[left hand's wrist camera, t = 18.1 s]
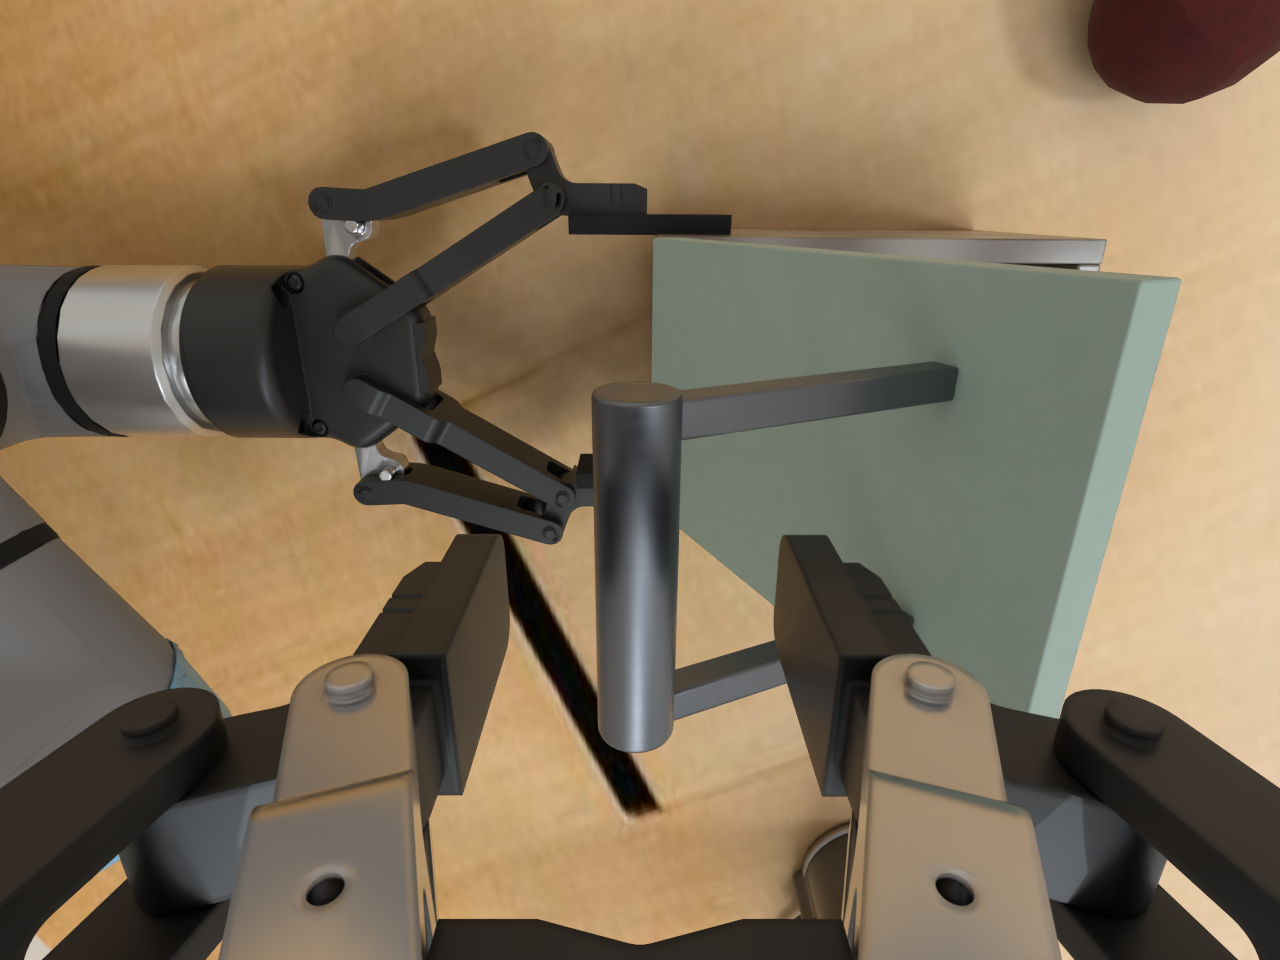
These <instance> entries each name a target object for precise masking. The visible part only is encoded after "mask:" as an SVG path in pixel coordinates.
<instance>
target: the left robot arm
mask: <svg viewBox="0 0 1280 960" xmlns="http://www.w3.org/2000/svg"><path fill="white" fill-rule="evenodd" d="M509 627H510V614H509V601H508V588H507V575H506V563H505V550H504V543H503V539H502V536H501V535H500V534H458V535H456V537H455V538H454V540H453V542H452V543H451V545H450V547H449V549H448V551H447V552H446V554H445V556H444V558H443V559H442V561H441V562H425V563H423V564H422V565H420V566H419V567H417V568H416V569H414V570H413V571H411V572H410V573H409V574H407V575H406V576H404V577H403V578H402V580H401V582H400V583H399V585H398V586H397V588H396V589H395V591H394V592H393V594H392V598H390V599H389V600H388V602H387V603H386V605H385V606H384V608H383V613H380V614H379V616H378V617H377V619H376V620H375V622H374V623H373V625H372V627H371V628H370V630H369V631H368V633H367V634H366V636H365V637H364V639H363V641H362V642H361V644H360V645H359V647H358V648H357V650H356V651H355V653H354V654H353V655H352V656H348V657H344V658H340V659H337V660H334V661H332V662H329V663H327V664H325V665H323V666H321V667H319V668H317V669H315V670H314V671H312V672H311V673H310V674H308V675H307V676H306V677H305V678H303V679H302V680H301V681H300V683H299V684H298V685H297V686H296V688H295V689H294V691H293V693H292V696H291V700H290V704H287V705H284V706H280V707H276V708H272V709H267V710H262V711H257V712H252V713H247V714H243V715H238V716H233V717H228V718H223V715H222V711H221V707H220V704H219V701H218V699H217V697H216V696H215V695H214V694H213V693H211V692H209V691H207V690H204V689H200V688H192V687H191V688H173V689H167V690H162V691H158V692H155V693H151V694H148V695H145V696H142V697H139V698H137V699H134V700H132V701H130V702H127V703H125V704H123V705H122V706H120V707H118V708H116V709H114V710H113V711H111V712H109V713H108V714H106V715H105V716H103V717H102V718H100V719H99V720H98V721H96V722H95V723H93V724H92V725H90V726H89V727H87V728H86V729H85V730H83V731H82V732H80V733H79V734H77V735H76V736H75V737H73V738H72V739H70V740H69V741H67V742H66V743H65V744H63V745H62V746H60V747H59V748H57V749H56V750H54V751H53V752H52V753H50V754H49V755H47V756H46V757H44V758H43V759H42V760H40V761H39V762H37V763H36V764H34V765H33V766H32V767H30V768H29V769H27V770H26V771H24V772H23V773H22V774H20V775H19V776H17V777H16V778H14V779H13V780H11V781H10V782H9V783H7V784H6V785H4V786H3V787H1V788H0V960H24V958H25V954H26V951H27V949H28V947H29V944H30V943H31V941H32V939H33V937H34V936H35V934H36V933H37V931H38V930H39V928H40V927H41V926H42V925H43V924H44V922H45V921H46V920H47V919H48V918H49V917H50V916H51V915H52V914H53V913H54V912H55V911H56V910H58V909H59V908H60V907H61V906H62V905H63V904H64V903H65V902H66V901H67V900H69V899H70V898H71V897H72V896H73V895H74V894H75V893H76V892H77V891H79V890H80V889H81V888H82V887H83V886H84V885H85V884H86V883H87V882H88V881H90V880H91V879H92V878H93V877H94V876H95V875H96V874H97V873H98V872H100V871H101V870H102V869H103V868H104V867H105V866H106V865H107V864H108V863H109V862H111V861H112V860H113V859H114V858H115V857H116V856H117V855H118V854H119V857H120V860H121V862H122V865H123V868H124V870H125V873H126V876H127V879H126V880H125V881H124V882H123V883H122V884H121V885H120V886H119V887H118V888H117V889H116V890H115V891H114V892H113V893H112V894H111V895H109V896H108V897H107V898H106V899H105V900H104V901H103V902H102V903H101V904H100V905H99V906H98V907H97V908H96V909H95V910H94V911H93V912H92V913H91V914H90V915H88V916H87V917H86V918H85V919H84V920H83V921H82V922H81V923H80V924H79V925H78V926H77V927H76V928H75V929H74V930H73V931H72V932H71V933H70V934H69V935H67V936H66V937H65V938H64V939H63V940H62V941H61V942H60V943H59V944H58V945H57V946H56V947H55V948H54V949H53V950H52V951H51V952H50V953H49V954H48V955H46V956H45V957H44V958H43V959H42V960H206V958H207V957H208V956H209V955H210V954H211V952H212V951H213V950H214V949H215V948H216V946H217V945H218V944H219V943H220V942H221V940H222V944H221V949H220V953H219V958H218V960H1062V958H1061V953H1060V949H1059V944H1058V940H1059V942H1060V943H1061V944H1062V945H1063V946H1064V948H1065V949H1066V950H1067V951H1068V952H1069V954H1070V955H1071V956H1072V957H1073V958H1074V960H1238V959H1237V958H1236V957H1235V956H1234V955H1233V954H1231V953H1230V952H1229V951H1228V950H1227V949H1226V948H1225V947H1224V946H1223V945H1222V944H1221V943H1220V942H1219V941H1218V940H1217V939H1216V938H1215V937H1214V936H1213V935H1212V934H1210V933H1209V932H1208V931H1207V930H1206V929H1205V928H1204V927H1203V926H1202V925H1201V924H1200V923H1199V922H1198V921H1197V920H1196V919H1195V918H1194V917H1193V916H1192V915H1190V914H1189V913H1188V912H1187V911H1186V910H1185V909H1184V908H1183V907H1182V906H1181V905H1180V904H1179V903H1178V902H1177V901H1176V900H1175V899H1174V898H1173V897H1172V896H1171V895H1169V894H1168V893H1167V892H1166V891H1165V890H1164V889H1163V888H1162V887H1161V886H1160V885H1159V884H1158V882H1159V880H1160V877H1161V874H1162V872H1163V869H1164V866H1165V864H1166V861H1167V860H1168V861H1169V862H1171V863H1172V864H1173V865H1174V866H1175V867H1176V868H1177V869H1178V870H1179V871H1181V872H1182V873H1183V874H1184V875H1185V876H1186V877H1187V878H1188V879H1189V880H1190V881H1192V882H1193V883H1194V884H1195V885H1196V886H1197V887H1198V888H1199V889H1200V890H1201V891H1203V892H1204V893H1205V894H1206V895H1207V896H1208V897H1209V898H1210V899H1211V900H1213V901H1214V902H1215V903H1216V904H1217V905H1218V906H1219V907H1220V908H1221V909H1222V910H1224V911H1225V912H1226V913H1227V914H1228V915H1229V916H1230V917H1231V918H1232V919H1233V920H1234V921H1235V922H1236V923H1237V924H1238V925H1239V926H1240V927H1241V928H1242V930H1243V931H1244V932H1245V933H1246V935H1247V936H1248V938H1249V939H1250V941H1251V942H1252V944H1253V946H1254V948H1255V950H1256V952H1257V954H1258V957H1259V960H1280V788H1279V787H1277V786H1276V785H1274V784H1273V783H1271V782H1270V781H1269V780H1267V779H1266V778H1264V777H1263V776H1261V775H1260V774H1259V773H1257V772H1256V771H1254V770H1253V769H1251V768H1250V767H1248V766H1247V765H1246V764H1244V763H1243V762H1241V761H1240V760H1238V759H1237V758H1236V757H1234V756H1233V755H1231V754H1230V753H1228V752H1227V751H1226V750H1224V749H1223V748H1221V747H1220V746H1218V745H1217V744H1215V743H1214V742H1213V741H1211V740H1210V739H1208V738H1207V737H1205V736H1204V735H1203V734H1201V733H1200V732H1198V731H1197V730H1195V729H1194V728H1193V727H1191V726H1190V725H1188V724H1187V723H1185V722H1184V721H1183V720H1181V719H1180V718H1178V717H1177V716H1175V715H1173V714H1172V713H1170V712H1169V711H1167V710H1165V709H1163V708H1161V707H1159V706H1158V705H1155V704H1153V703H1151V702H1149V701H1146V700H1144V699H1141V698H1138V697H1135V696H1132V695H1128V694H1125V693H1121V692H1116V691H1110V690H1101V689H1090V690H1082V691H1079V692H1075V693H1073V694H1071V695H1070V696H1069V697H1068V698H1067V699H1066V700H1065V702H1064V704H1063V708H1062V711H1061V715H1060V719H1057V718H1052V717H1047V716H1043V715H1038V714H1033V713H1028V712H1023V711H1018V710H1013V709H1009V708H1005V707H1001V706H998V705H995V704H992V703H990V700H989V696H988V693H987V691H986V689H985V688H984V686H983V685H982V684H981V683H980V681H979V680H978V679H977V678H975V677H974V676H973V675H972V674H970V673H969V672H968V671H966V670H965V669H963V668H961V667H959V666H957V665H955V664H953V663H951V662H948V661H946V660H943V659H940V658H936V657H932V655H931V654H930V652H929V651H928V649H927V648H926V646H925V645H924V643H923V642H922V640H921V639H920V637H919V636H918V634H917V633H916V631H915V629H914V628H913V626H912V625H911V623H910V622H909V620H908V619H907V617H906V616H905V614H902V610H901V608H900V607H899V605H898V603H897V602H896V600H895V599H892V594H891V593H890V591H889V590H888V588H887V587H886V585H885V584H884V582H883V581H882V579H881V578H880V577H879V576H877V575H876V574H875V573H873V572H872V571H870V570H869V569H867V568H866V567H864V566H863V565H861V564H860V563H843V562H842V560H841V558H840V556H839V555H838V553H837V551H836V550H835V548H834V546H833V544H832V543H831V541H830V539H829V537H828V536H827V535H783V536H782V538H781V541H780V546H779V557H778V569H777V582H776V594H775V606H774V637H775V644H776V649H777V652H778V656H779V659H780V662H781V665H782V669H783V672H784V675H785V678H786V681H787V685H788V688H789V691H790V694H791V698H792V701H793V704H794V707H795V710H796V714H797V717H798V720H799V723H800V726H801V730H802V733H803V736H804V739H805V743H806V746H807V749H808V752H809V755H810V759H811V762H812V765H813V768H814V772H815V775H816V778H817V781H818V784H819V788H820V791H821V794H822V796H848V799H849V802H850V805H851V808H852V813H851V820H850V824H846V825H843V826H841V827H838V828H836V829H834V830H832V831H830V832H828V833H827V834H825V835H824V836H822V837H821V838H820V839H819V840H817V841H816V842H815V843H814V844H813V846H812V847H811V848H810V849H809V851H808V852H807V854H806V856H805V858H804V861H803V865H802V870H801V871H800V872H799V873H797V874H796V875H795V876H793V882H794V887H795V891H796V895H797V900H798V904H799V909H800V913H801V915H799V916H798V917H796V918H795V919H741V920H737V921H734V922H730V923H726V924H722V925H719V926H715V927H711V928H707V929H703V930H700V931H696V932H692V933H688V934H685V935H681V936H677V937H673V938H670V939H666V940H662V941H658V942H655V943H651V944H645V945H635V944H629V943H625V942H622V941H618V940H614V939H610V938H607V937H603V936H599V935H595V934H592V933H588V932H584V931H580V930H576V929H573V928H569V927H565V926H561V925H558V924H554V923H550V922H546V921H543V920H539V919H439V915H438V903H437V891H436V880H435V868H434V857H433V845H432V834H431V827H430V820H429V818H430V815H431V812H432V810H433V807H434V804H435V801H436V798H437V795H463V792H464V788H465V785H466V782H467V779H468V775H469V772H470V769H471V765H472V762H473V759H474V755H475V752H476V749H477V746H478V742H479V739H480V736H481V732H482V729H483V726H484V723H485V719H486V716H487V713H488V709H489V706H490V703H491V699H492V696H493V693H494V690H495V686H496V683H497V680H498V676H499V673H500V670H501V666H502V663H503V660H504V657H505V653H506V650H507V646H508V639H509Z"/></svg>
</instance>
